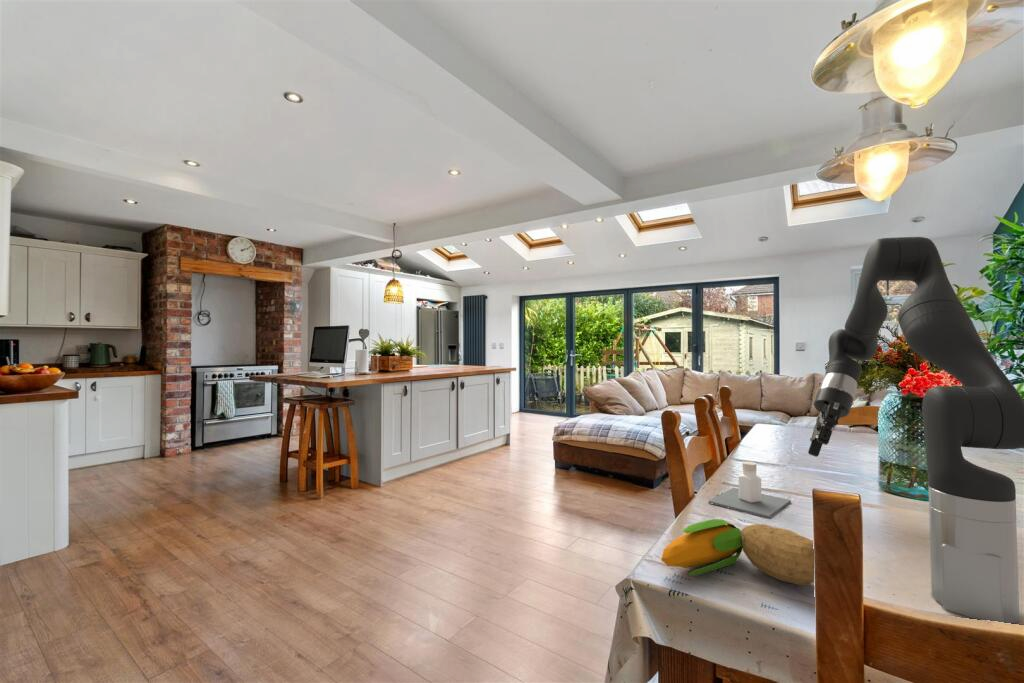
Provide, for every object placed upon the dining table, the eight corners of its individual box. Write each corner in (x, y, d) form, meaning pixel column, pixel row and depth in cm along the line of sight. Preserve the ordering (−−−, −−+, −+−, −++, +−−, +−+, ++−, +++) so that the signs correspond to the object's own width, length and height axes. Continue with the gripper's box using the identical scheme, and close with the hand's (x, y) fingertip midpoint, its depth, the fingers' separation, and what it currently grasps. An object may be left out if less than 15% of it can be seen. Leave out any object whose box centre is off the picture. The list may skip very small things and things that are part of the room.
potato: (760, 554, 84) (759, 512, 84) (842, 590, 71) (841, 540, 71) (725, 566, 80) (725, 521, 80) (806, 606, 67) (805, 553, 67)
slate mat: (769, 518, 102) (769, 515, 102) (708, 503, 112) (708, 500, 112) (790, 502, 112) (790, 499, 113) (733, 489, 123) (733, 487, 123)
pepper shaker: (762, 501, 111) (761, 464, 111) (751, 503, 110) (750, 465, 110) (749, 497, 115) (748, 460, 115) (737, 498, 114) (737, 461, 114)
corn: (755, 519, 81) (680, 542, 72) (758, 562, 81) (683, 591, 71) (719, 509, 88) (646, 529, 78) (722, 549, 87) (649, 574, 77)
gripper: (811, 401, 120) (793, 452, 114) (826, 376, 109) (807, 431, 103) (844, 412, 116) (826, 465, 111) (863, 387, 105) (844, 445, 99)
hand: (817, 449), depth 107 cm, fingers open, 8 cm apart
